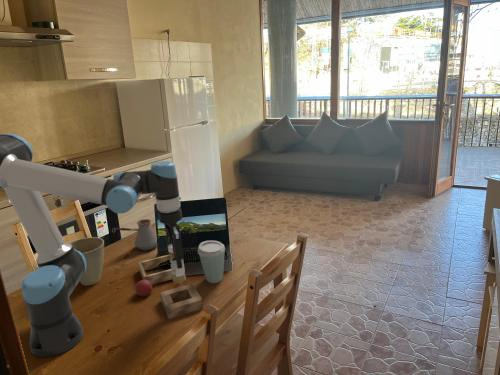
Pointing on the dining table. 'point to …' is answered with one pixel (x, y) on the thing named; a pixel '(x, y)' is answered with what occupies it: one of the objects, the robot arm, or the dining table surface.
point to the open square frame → (152, 264)
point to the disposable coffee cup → (212, 260)
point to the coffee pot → (143, 235)
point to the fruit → (143, 288)
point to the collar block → (182, 306)
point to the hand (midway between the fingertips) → (178, 272)
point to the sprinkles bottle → (175, 279)
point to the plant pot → (91, 258)
